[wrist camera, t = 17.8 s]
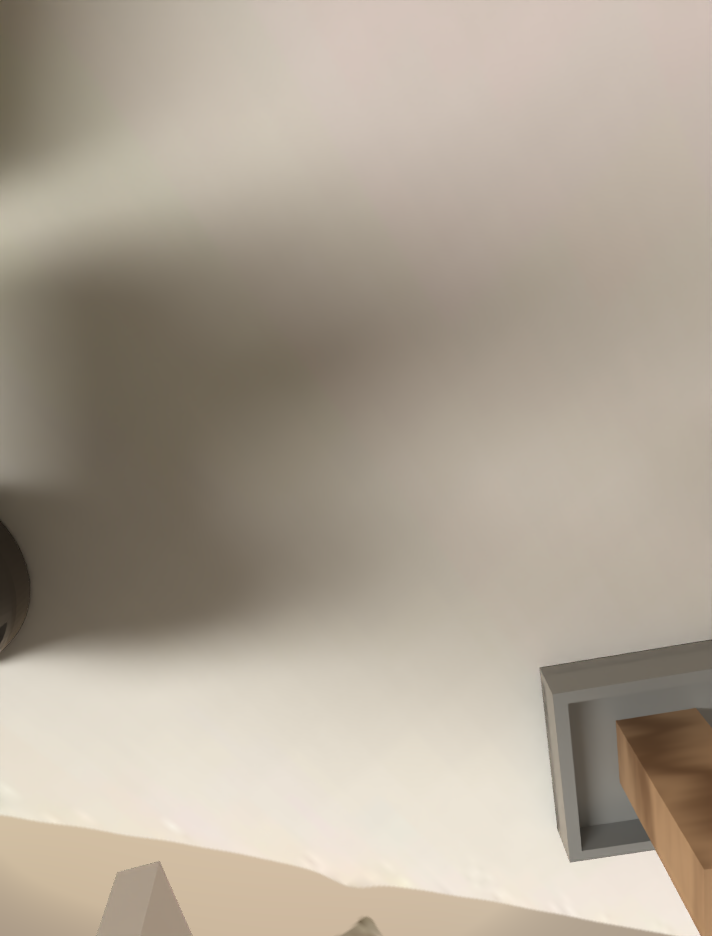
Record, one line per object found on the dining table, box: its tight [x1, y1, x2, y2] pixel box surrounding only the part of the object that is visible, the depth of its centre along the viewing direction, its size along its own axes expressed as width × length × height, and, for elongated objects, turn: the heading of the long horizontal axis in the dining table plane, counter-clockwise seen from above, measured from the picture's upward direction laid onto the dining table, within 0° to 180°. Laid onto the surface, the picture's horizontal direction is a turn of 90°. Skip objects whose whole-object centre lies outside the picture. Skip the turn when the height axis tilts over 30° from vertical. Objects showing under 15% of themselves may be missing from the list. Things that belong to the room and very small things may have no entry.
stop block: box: [616, 708, 712, 936], centre depth 41 cm, size 6×6×12 cm
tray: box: [540, 640, 712, 862], centre depth 46 cm, size 16×16×3 cm
